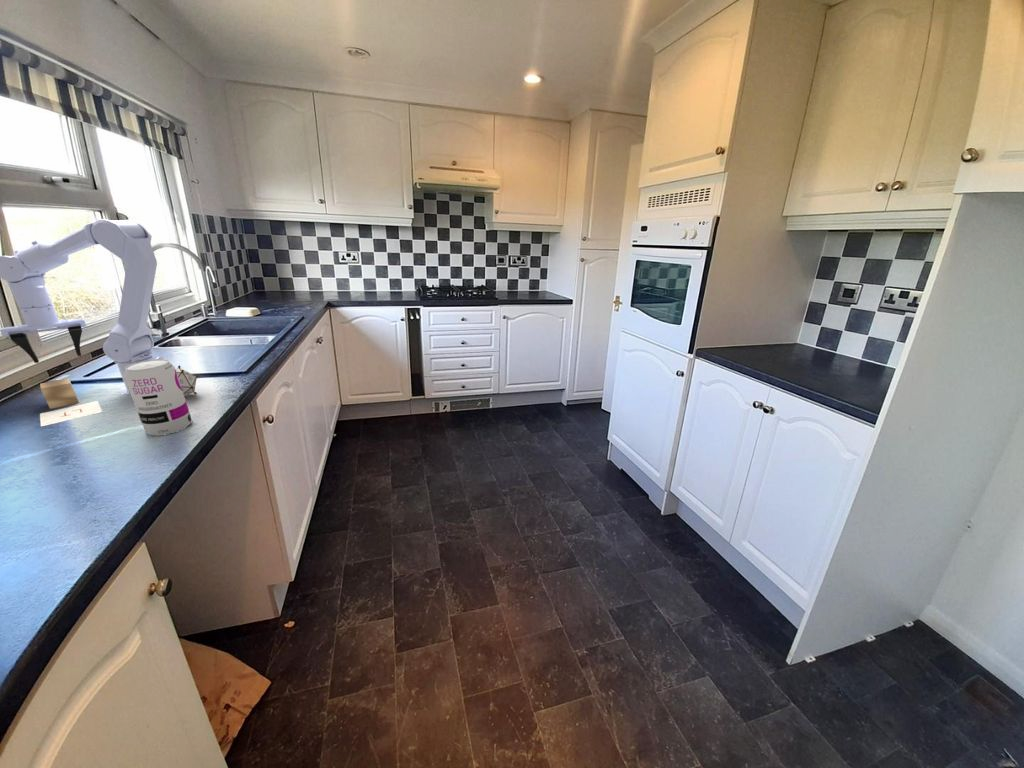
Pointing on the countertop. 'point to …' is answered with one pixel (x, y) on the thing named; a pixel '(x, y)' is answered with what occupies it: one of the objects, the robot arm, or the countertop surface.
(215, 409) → the countertop surface
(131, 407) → the countertop surface
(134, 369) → the supplement can
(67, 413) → the tile
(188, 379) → the game die
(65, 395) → the oak cube
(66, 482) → the countertop surface
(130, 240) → the robot arm
